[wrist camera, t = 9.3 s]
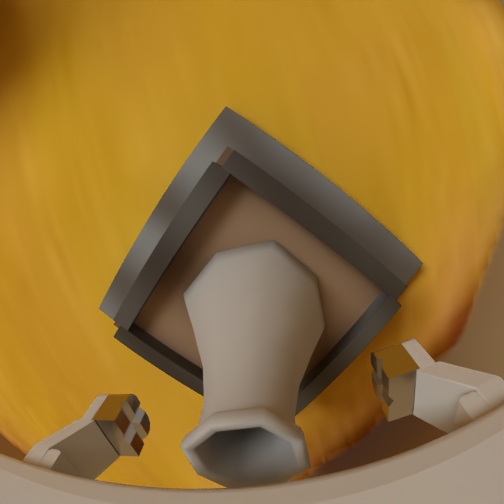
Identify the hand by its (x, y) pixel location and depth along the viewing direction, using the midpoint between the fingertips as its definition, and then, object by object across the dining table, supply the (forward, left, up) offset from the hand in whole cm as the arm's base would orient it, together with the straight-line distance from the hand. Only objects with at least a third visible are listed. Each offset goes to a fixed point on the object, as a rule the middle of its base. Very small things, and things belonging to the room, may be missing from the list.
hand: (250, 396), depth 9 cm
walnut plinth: (0, 0, -11) cm, 11 cm away
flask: (0, 0, -7) cm, 7 cm away
